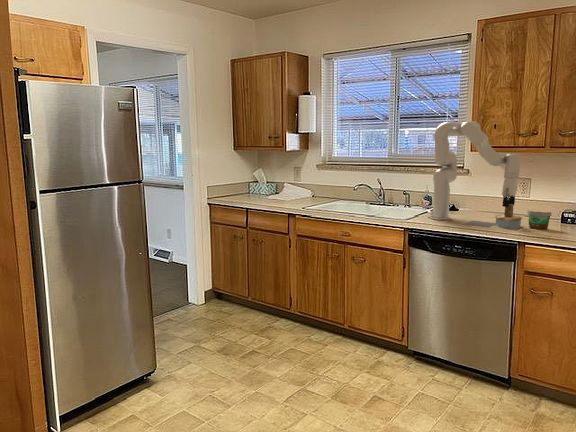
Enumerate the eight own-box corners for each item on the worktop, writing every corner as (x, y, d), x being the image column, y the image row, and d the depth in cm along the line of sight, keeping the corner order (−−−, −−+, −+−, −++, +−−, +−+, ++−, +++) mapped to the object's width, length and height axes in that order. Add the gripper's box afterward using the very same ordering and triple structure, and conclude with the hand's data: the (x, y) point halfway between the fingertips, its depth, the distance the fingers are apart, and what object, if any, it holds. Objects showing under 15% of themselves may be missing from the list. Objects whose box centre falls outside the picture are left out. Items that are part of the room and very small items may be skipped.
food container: (524, 228, 265) (525, 211, 263) (526, 227, 270) (527, 209, 269) (549, 231, 258) (551, 213, 257) (550, 229, 263) (552, 211, 262)
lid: (491, 218, 268) (492, 204, 267) (500, 215, 278) (501, 202, 277) (517, 221, 259) (518, 207, 258) (524, 218, 269) (525, 204, 267)
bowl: (493, 227, 269) (493, 218, 268) (500, 224, 278) (501, 216, 277) (515, 230, 261) (516, 221, 260) (522, 227, 270) (522, 218, 269)
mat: (462, 225, 276) (462, 224, 276) (472, 221, 287) (472, 220, 287) (488, 228, 266) (488, 227, 266) (497, 224, 277) (497, 223, 277)
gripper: (509, 174, 273) (506, 203, 276) (499, 176, 261) (496, 206, 264) (523, 175, 268) (520, 204, 271) (513, 177, 256) (510, 208, 259)
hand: (508, 205), depth 268 cm, fingers open, 9 cm apart
